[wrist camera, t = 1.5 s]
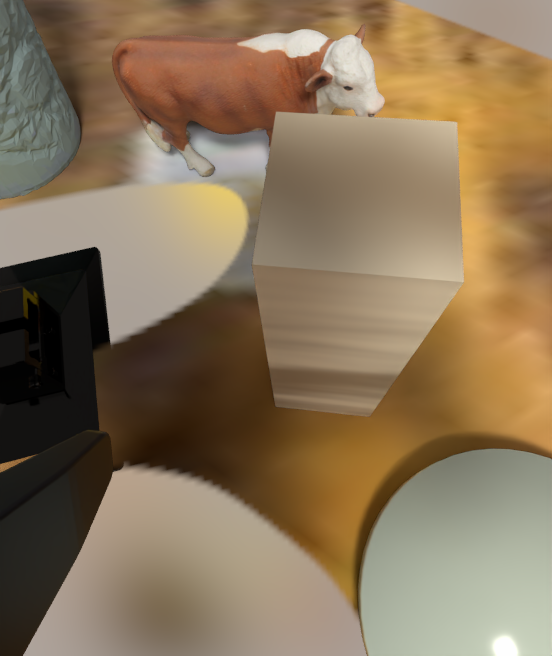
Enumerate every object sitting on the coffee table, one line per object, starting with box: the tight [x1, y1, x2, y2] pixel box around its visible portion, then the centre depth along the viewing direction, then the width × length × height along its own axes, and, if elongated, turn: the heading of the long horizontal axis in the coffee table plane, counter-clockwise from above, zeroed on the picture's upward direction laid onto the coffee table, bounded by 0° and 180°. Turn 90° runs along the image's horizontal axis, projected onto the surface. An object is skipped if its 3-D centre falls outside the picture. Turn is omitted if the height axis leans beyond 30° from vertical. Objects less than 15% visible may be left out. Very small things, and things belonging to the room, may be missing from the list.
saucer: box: [358, 449, 552, 656], centre depth 18 cm, size 12×12×1 cm
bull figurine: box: [112, 24, 385, 177], centre depth 24 cm, size 4×13×8 cm, turn 78°
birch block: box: [252, 112, 464, 417], centre depth 16 cm, size 4×4×13 cm
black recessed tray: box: [0, 247, 122, 472], centre depth 22 cm, size 12×7×5 cm, turn 14°
